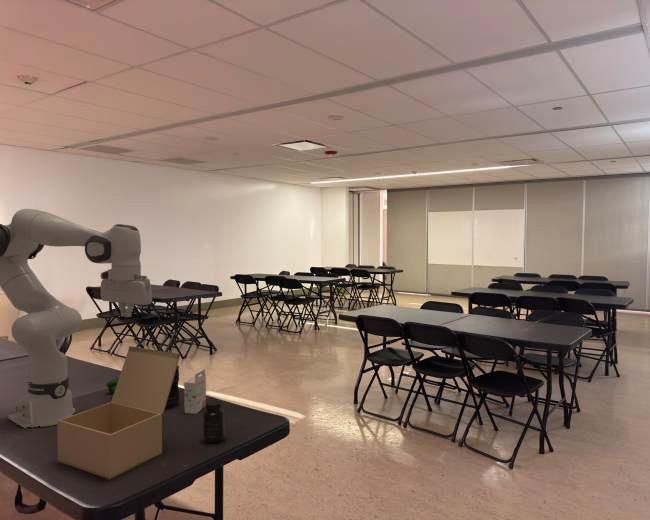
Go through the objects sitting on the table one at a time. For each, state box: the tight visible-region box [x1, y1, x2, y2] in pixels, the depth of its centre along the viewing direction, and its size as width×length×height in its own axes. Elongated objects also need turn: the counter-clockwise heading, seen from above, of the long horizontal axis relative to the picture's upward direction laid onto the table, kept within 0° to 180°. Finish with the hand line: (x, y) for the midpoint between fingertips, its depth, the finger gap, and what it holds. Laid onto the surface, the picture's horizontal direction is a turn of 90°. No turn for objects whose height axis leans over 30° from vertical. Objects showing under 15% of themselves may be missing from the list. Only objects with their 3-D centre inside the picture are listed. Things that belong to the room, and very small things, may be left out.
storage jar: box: [164, 364, 180, 411], centre depth 182 cm, size 10×10×15 cm
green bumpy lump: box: [105, 377, 119, 396], centre depth 194 cm, size 12×6×9 cm, turn 36°
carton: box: [56, 401, 163, 480], centre depth 138 cm, size 22×18×12 cm
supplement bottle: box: [202, 400, 225, 444], centre depth 151 cm, size 7×7×12 cm
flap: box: [110, 346, 181, 415], centre depth 149 cm, size 22×18×1 cm
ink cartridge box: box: [183, 369, 207, 415], centre depth 178 cm, size 9×5×15 cm, turn 168°
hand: (126, 316), depth 153 cm, fingers closed
